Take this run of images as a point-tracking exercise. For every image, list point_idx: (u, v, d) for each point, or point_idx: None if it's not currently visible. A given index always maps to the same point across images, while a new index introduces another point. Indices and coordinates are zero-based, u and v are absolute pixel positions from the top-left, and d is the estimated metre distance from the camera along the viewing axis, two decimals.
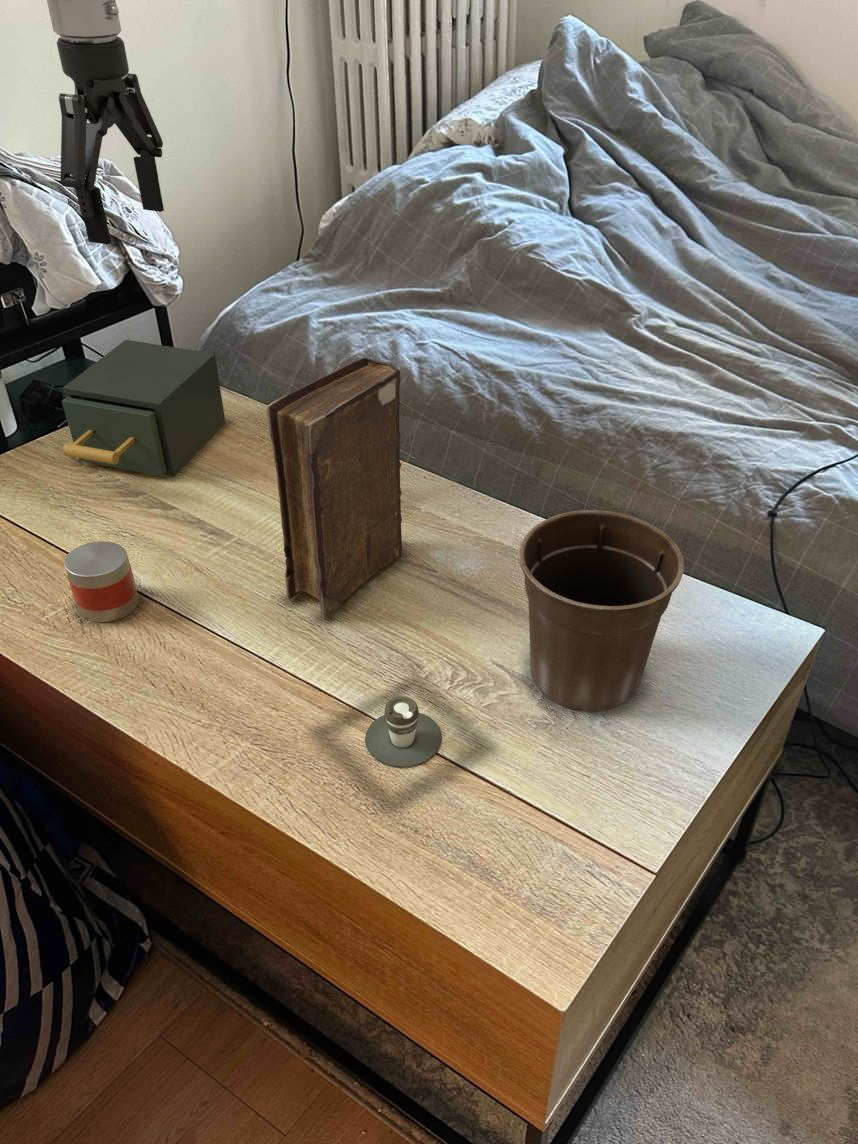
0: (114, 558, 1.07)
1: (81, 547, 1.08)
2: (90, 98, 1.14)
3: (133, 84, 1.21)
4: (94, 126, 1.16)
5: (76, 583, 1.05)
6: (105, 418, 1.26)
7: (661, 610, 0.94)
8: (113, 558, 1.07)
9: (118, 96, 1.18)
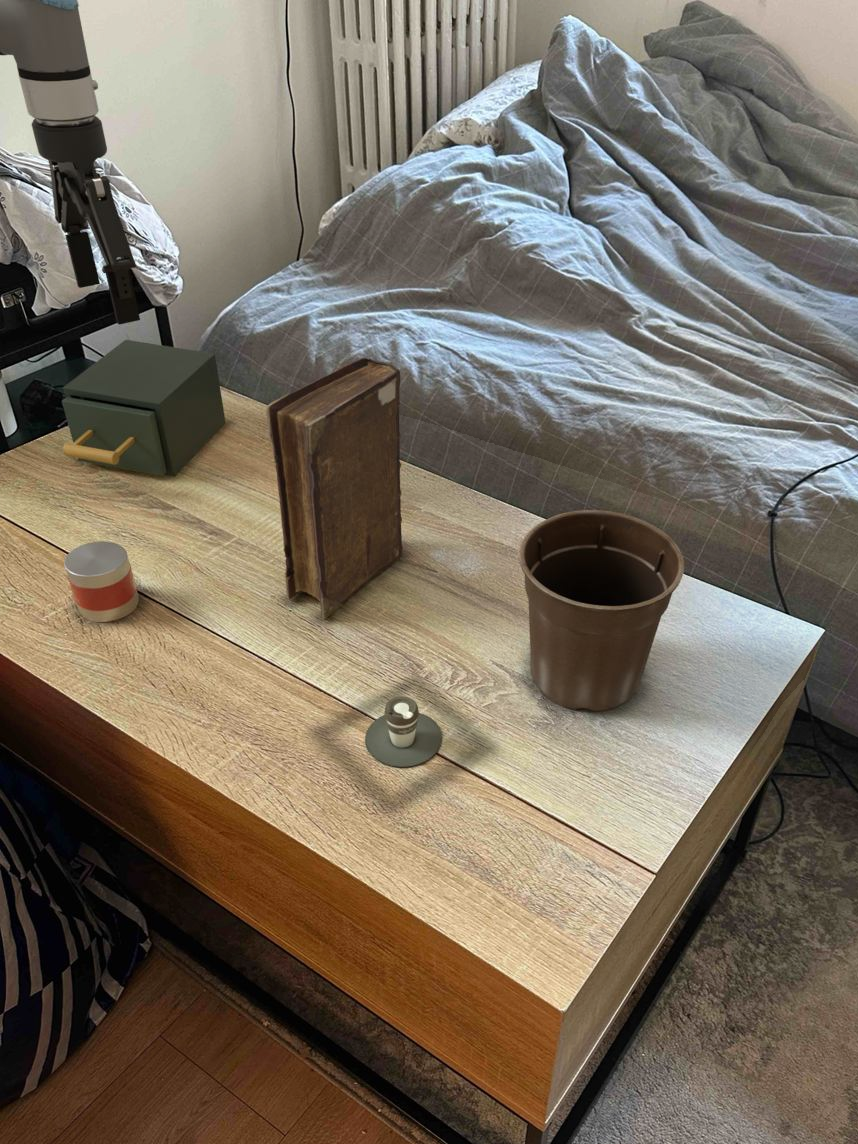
0: (114, 558, 1.07)
1: (81, 547, 1.08)
2: None
3: None
4: None
5: (76, 583, 1.05)
6: (105, 418, 1.26)
7: (661, 610, 0.94)
8: (113, 558, 1.07)
9: None
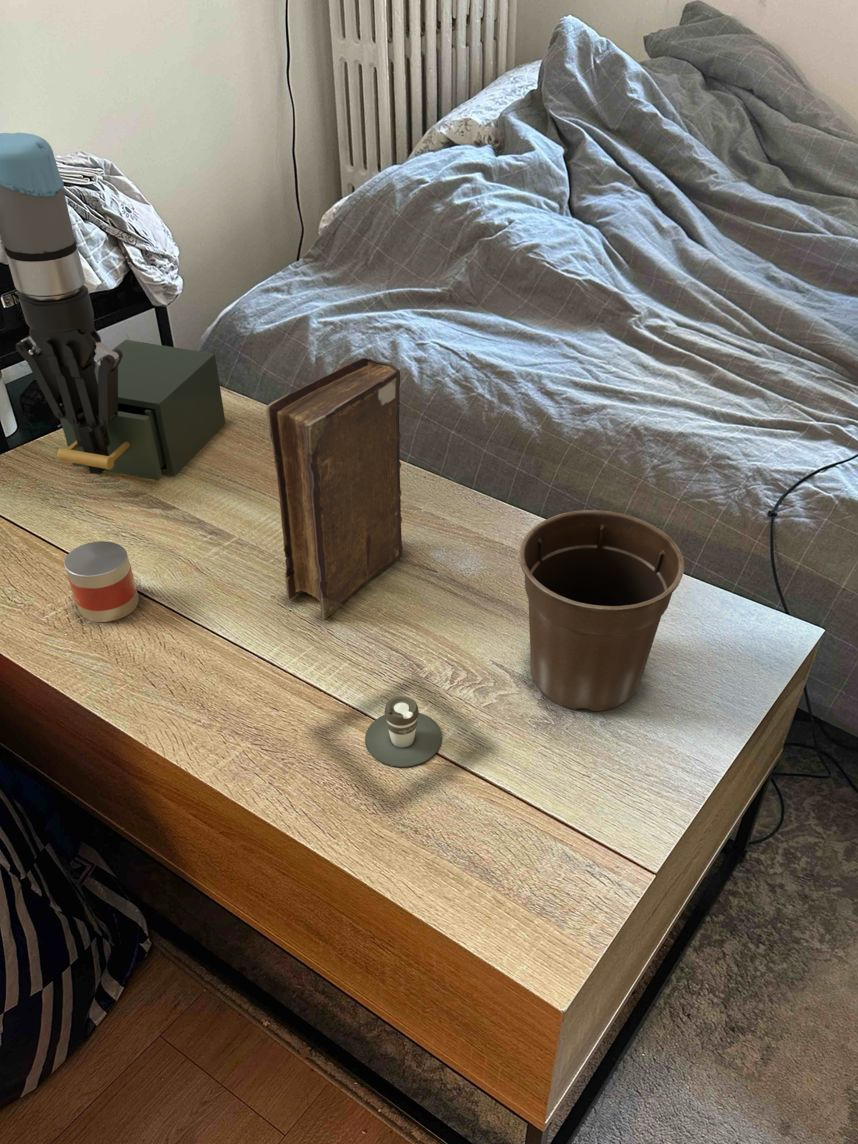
0: (114, 558, 1.07)
1: (81, 547, 1.08)
2: None
3: None
4: (91, 368, 1.17)
5: (76, 583, 1.05)
6: None
7: (661, 610, 0.94)
8: (113, 558, 1.07)
9: None
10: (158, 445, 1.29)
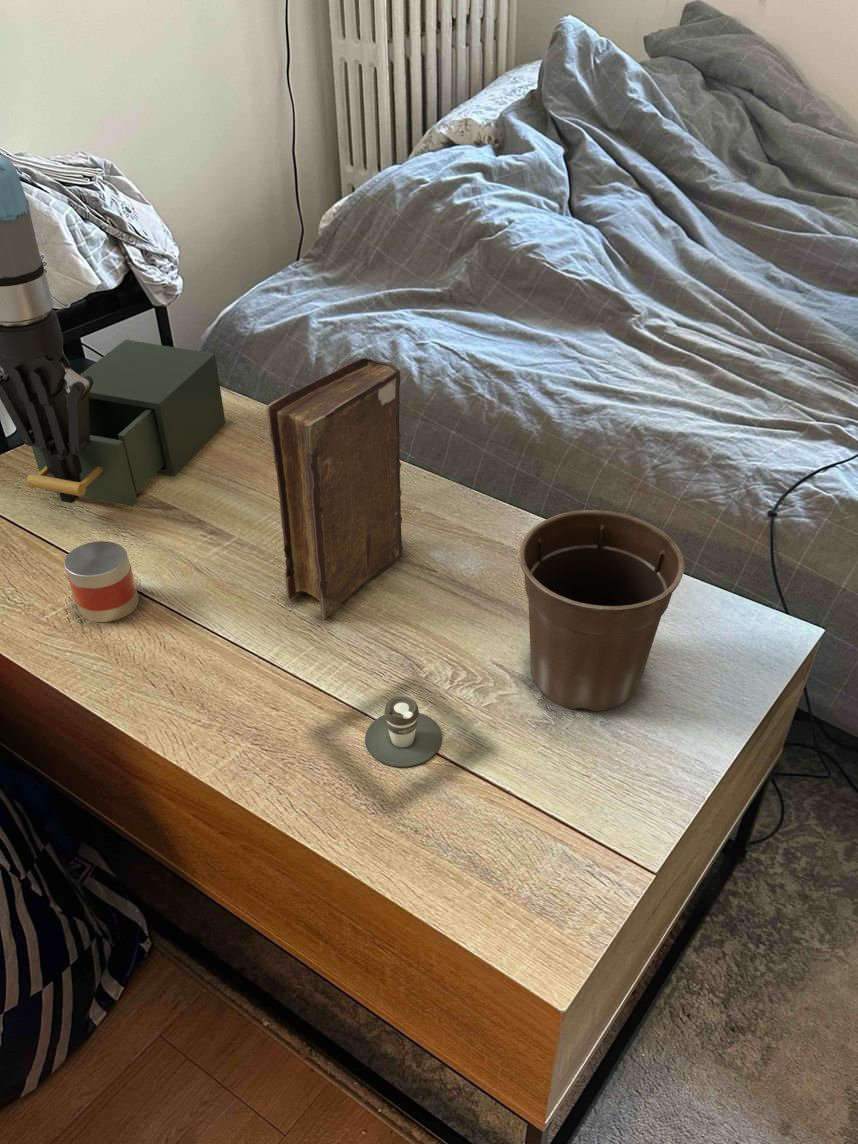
0: (114, 558, 1.07)
1: (81, 547, 1.08)
2: None
3: None
4: (61, 394, 1.13)
5: (76, 583, 1.05)
6: None
7: (661, 610, 0.94)
8: (113, 558, 1.07)
9: None
10: (132, 469, 1.24)
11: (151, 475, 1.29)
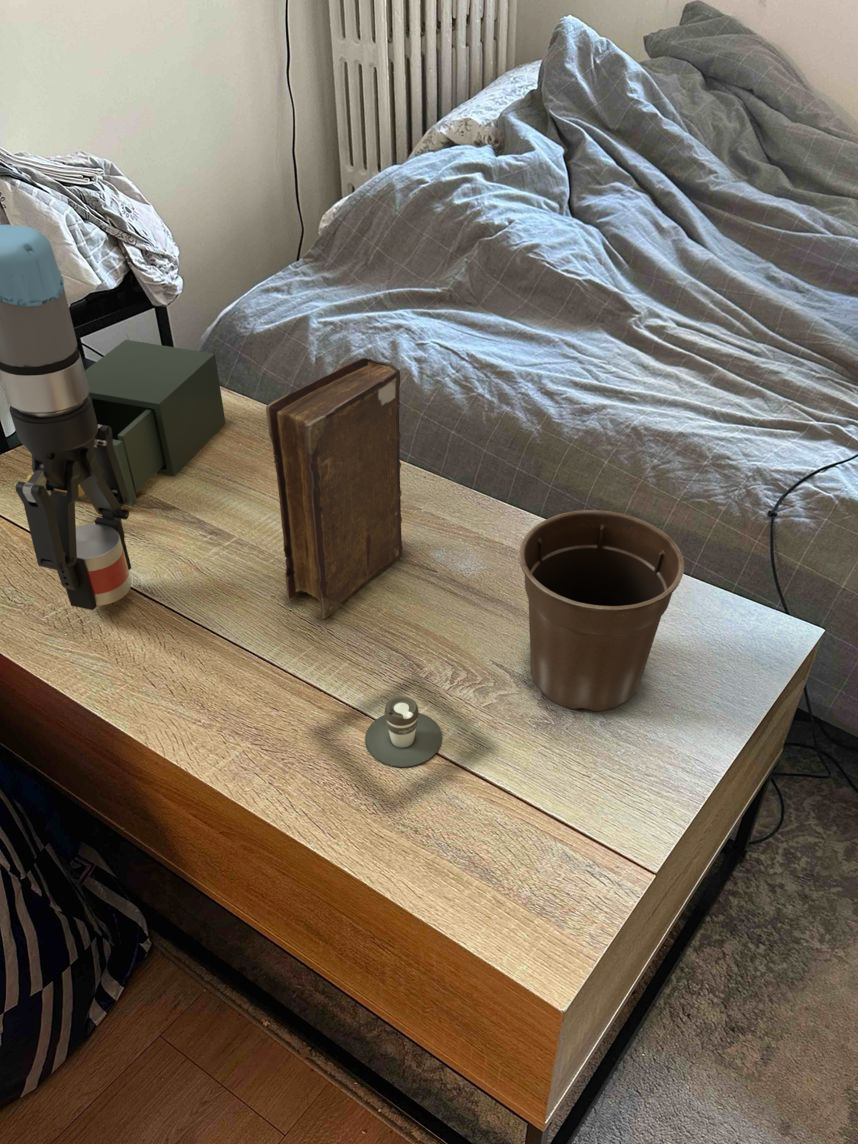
0: (106, 541, 1.05)
1: None
2: None
3: None
4: None
5: None
6: None
7: (661, 610, 0.94)
8: (105, 541, 1.05)
9: None
10: (132, 469, 1.24)
11: (151, 475, 1.28)
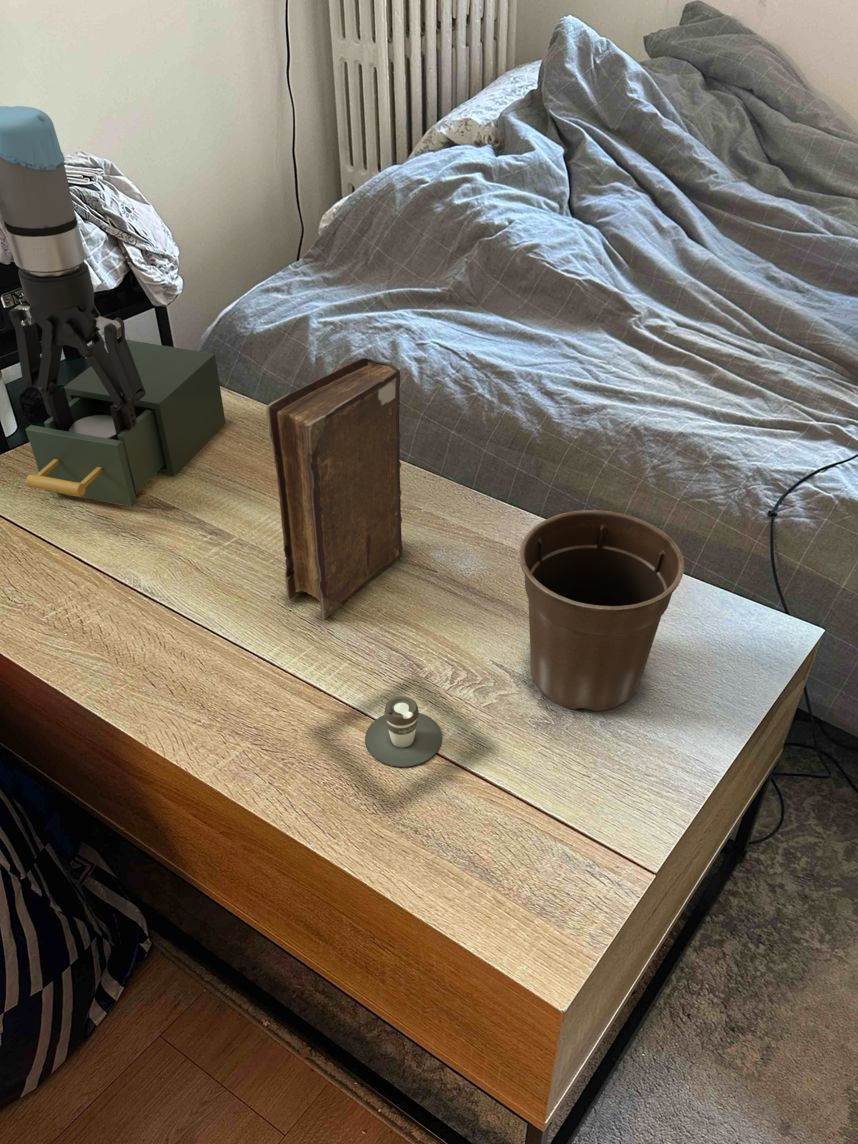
0: (91, 435, 1.22)
1: None
2: None
3: None
4: (100, 344, 1.16)
5: None
6: (71, 448, 1.20)
7: (661, 610, 0.94)
8: (92, 434, 1.22)
9: None
10: (132, 469, 1.24)
11: (151, 475, 1.28)
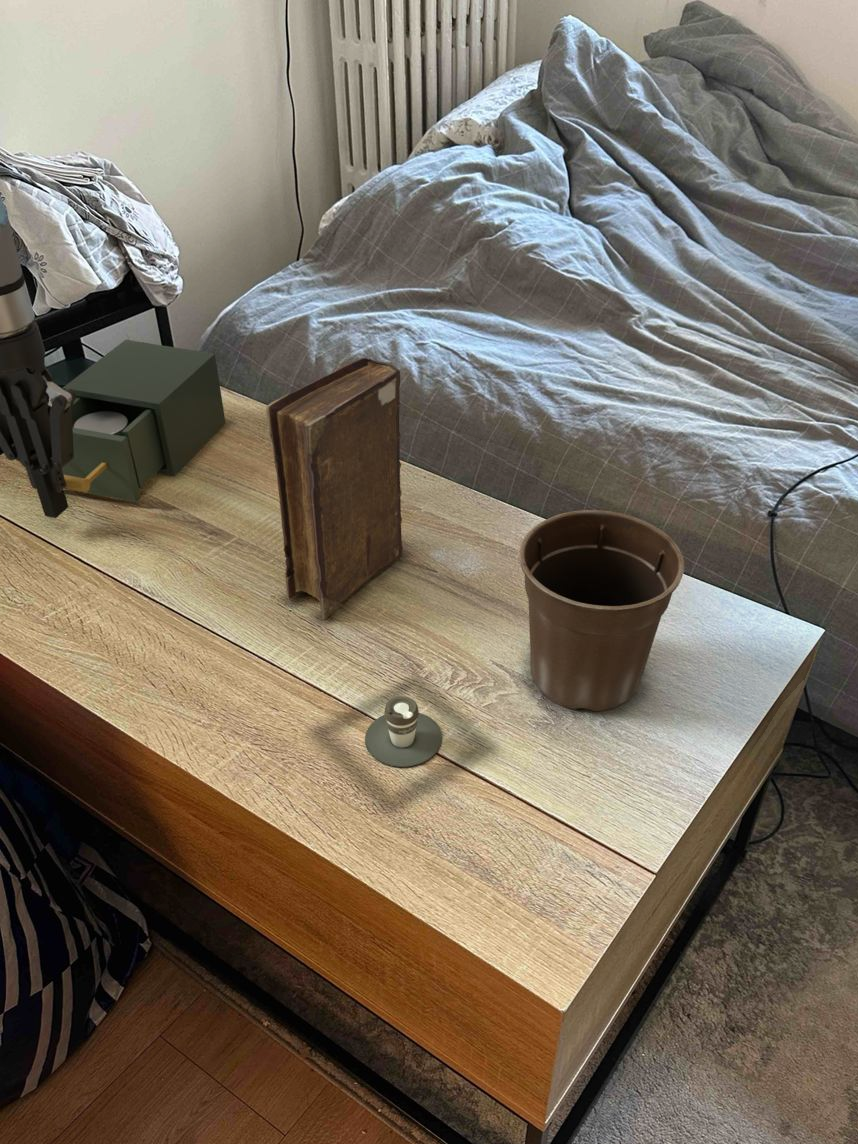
0: (96, 431, 1.23)
1: (121, 415, 1.26)
2: None
3: None
4: (43, 408, 1.10)
5: None
6: (76, 444, 1.21)
7: (661, 610, 0.94)
8: (96, 430, 1.23)
9: None
10: (136, 465, 1.25)
11: (155, 471, 1.29)
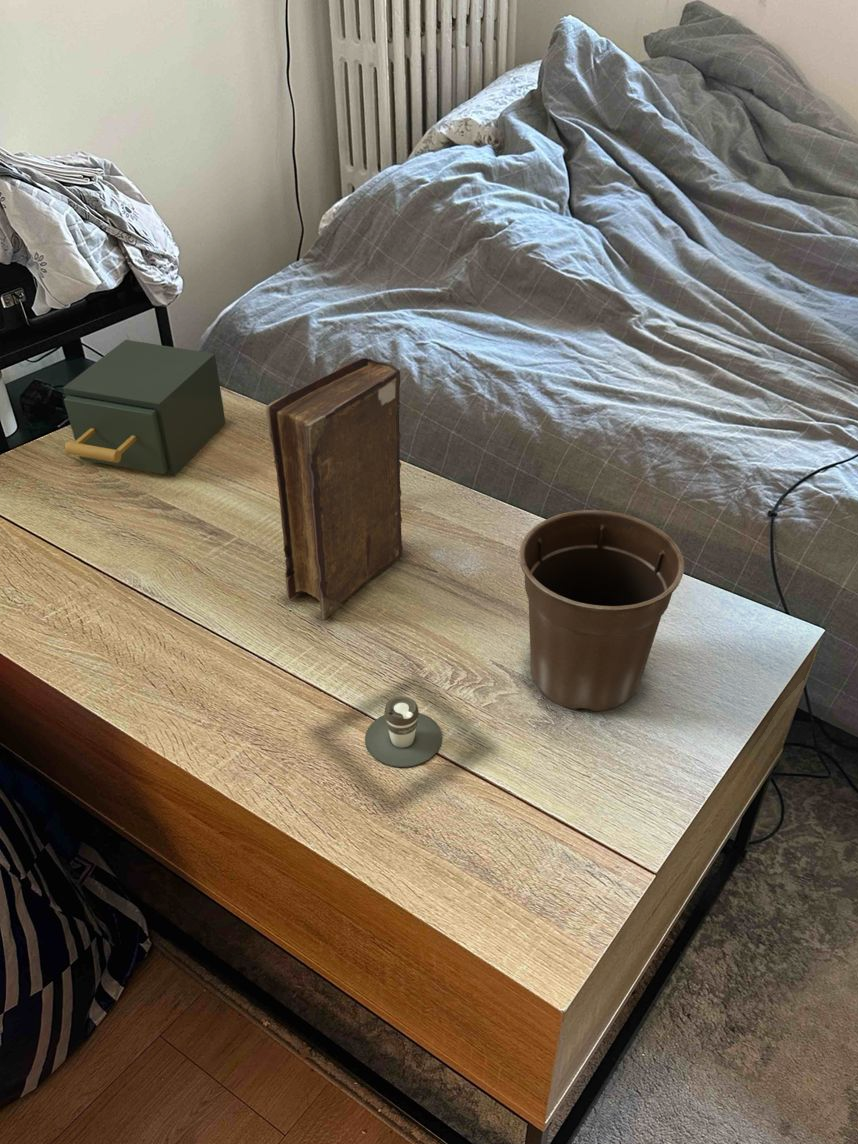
0: None
1: None
2: None
3: None
4: None
5: None
6: (107, 417, 1.26)
7: (661, 610, 0.94)
8: None
9: None
10: None
11: None
